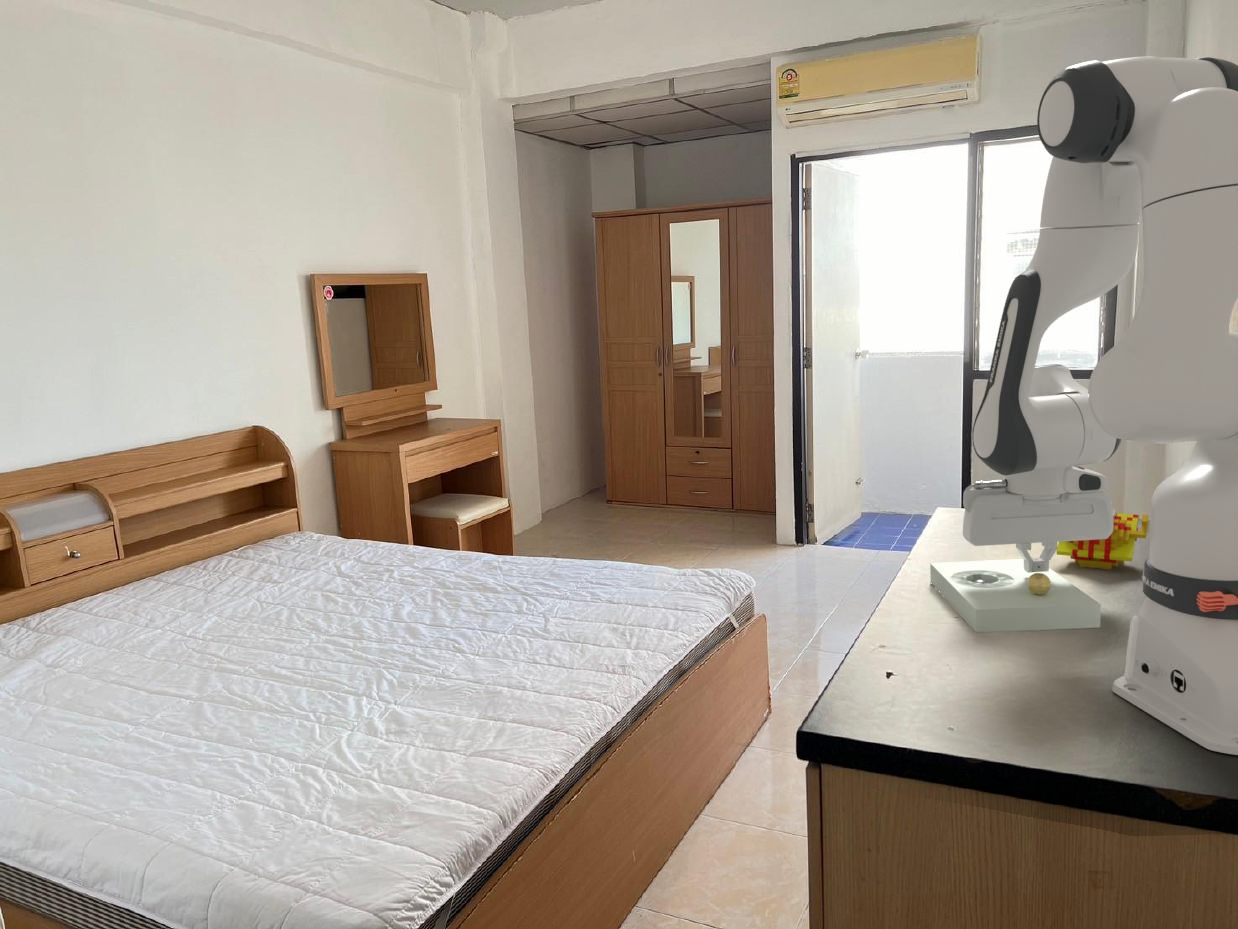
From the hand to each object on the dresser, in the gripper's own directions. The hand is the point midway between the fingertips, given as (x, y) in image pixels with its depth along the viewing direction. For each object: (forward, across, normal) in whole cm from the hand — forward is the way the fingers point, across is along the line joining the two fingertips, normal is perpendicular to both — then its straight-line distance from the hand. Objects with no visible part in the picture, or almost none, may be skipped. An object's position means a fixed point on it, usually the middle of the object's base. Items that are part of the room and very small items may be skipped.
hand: (1036, 571), depth 132 cm
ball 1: (+2, -8, 0) cm, 8 cm away
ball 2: (-1, -3, -8) cm, 8 cm away
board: (+4, -5, -2) cm, 6 cm away
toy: (+4, +16, +15) cm, 22 cm away
